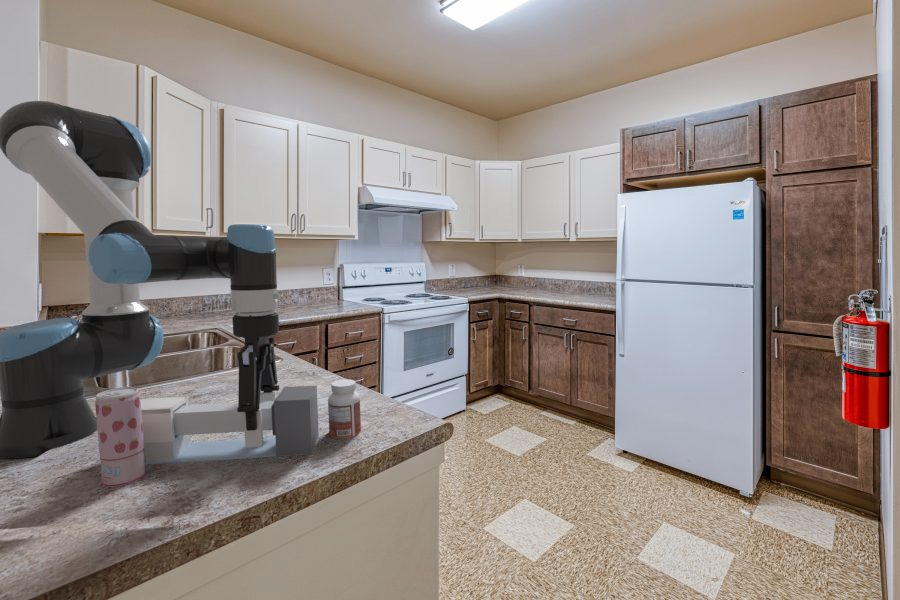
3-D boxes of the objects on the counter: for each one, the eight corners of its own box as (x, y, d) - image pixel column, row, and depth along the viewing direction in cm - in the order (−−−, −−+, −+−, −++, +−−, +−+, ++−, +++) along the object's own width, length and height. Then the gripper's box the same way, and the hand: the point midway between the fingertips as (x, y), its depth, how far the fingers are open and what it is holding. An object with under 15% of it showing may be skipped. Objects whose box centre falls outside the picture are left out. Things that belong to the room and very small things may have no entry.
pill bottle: (349, 427, 92) (348, 376, 91) (367, 436, 88) (366, 382, 87) (323, 436, 87) (321, 382, 86) (340, 446, 83) (338, 389, 82)
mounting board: (114, 472, 74) (114, 466, 73) (141, 450, 81) (140, 445, 81) (311, 459, 78) (311, 453, 78) (318, 440, 86) (318, 435, 86)
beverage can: (93, 489, 68) (84, 396, 66) (128, 472, 74) (121, 385, 72) (121, 495, 67) (113, 399, 65) (155, 476, 72) (148, 388, 70)
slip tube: (156, 441, 75) (153, 411, 75) (171, 429, 81) (169, 400, 80) (301, 433, 79) (299, 404, 78) (306, 422, 84) (305, 394, 83)
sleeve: (116, 464, 74) (112, 411, 73) (138, 447, 81) (134, 398, 80) (174, 460, 75) (170, 408, 74) (191, 444, 82) (187, 395, 81)
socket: (276, 456, 77) (273, 401, 76) (286, 437, 85) (284, 386, 84) (311, 453, 78) (309, 399, 77) (318, 435, 86) (316, 385, 85)
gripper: (260, 321, 68) (267, 461, 70) (290, 305, 89) (295, 412, 91) (209, 323, 67) (218, 464, 69) (251, 305, 88) (257, 414, 90)
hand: (261, 435), depth 80 cm, fingers open, 8 cm apart
